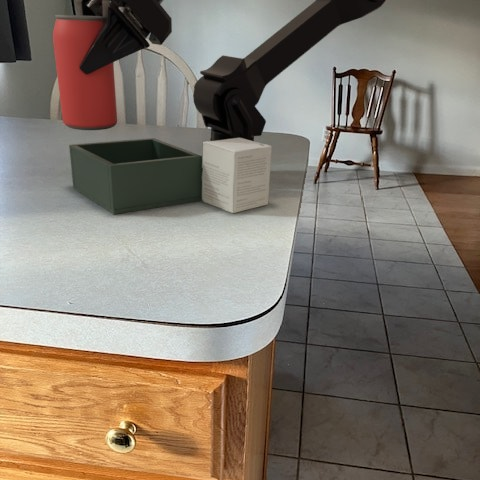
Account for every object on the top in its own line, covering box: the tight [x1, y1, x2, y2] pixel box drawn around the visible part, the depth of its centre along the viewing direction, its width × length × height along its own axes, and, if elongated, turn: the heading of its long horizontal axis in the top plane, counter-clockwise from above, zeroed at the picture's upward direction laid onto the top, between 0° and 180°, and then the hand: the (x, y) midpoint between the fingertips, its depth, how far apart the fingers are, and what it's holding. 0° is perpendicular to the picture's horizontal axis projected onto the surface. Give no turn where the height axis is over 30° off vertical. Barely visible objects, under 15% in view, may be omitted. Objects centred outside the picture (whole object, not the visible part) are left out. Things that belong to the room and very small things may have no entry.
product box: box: [201, 138, 273, 214], centre depth 66 cm, size 6×6×7 cm
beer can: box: [52, 14, 118, 131], centre depth 64 cm, size 7×7×12 cm
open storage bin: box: [68, 137, 203, 215], centre depth 68 cm, size 12×12×6 cm
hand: (74, 68), depth 64 cm, fingers closed on beer can, 6 cm apart
